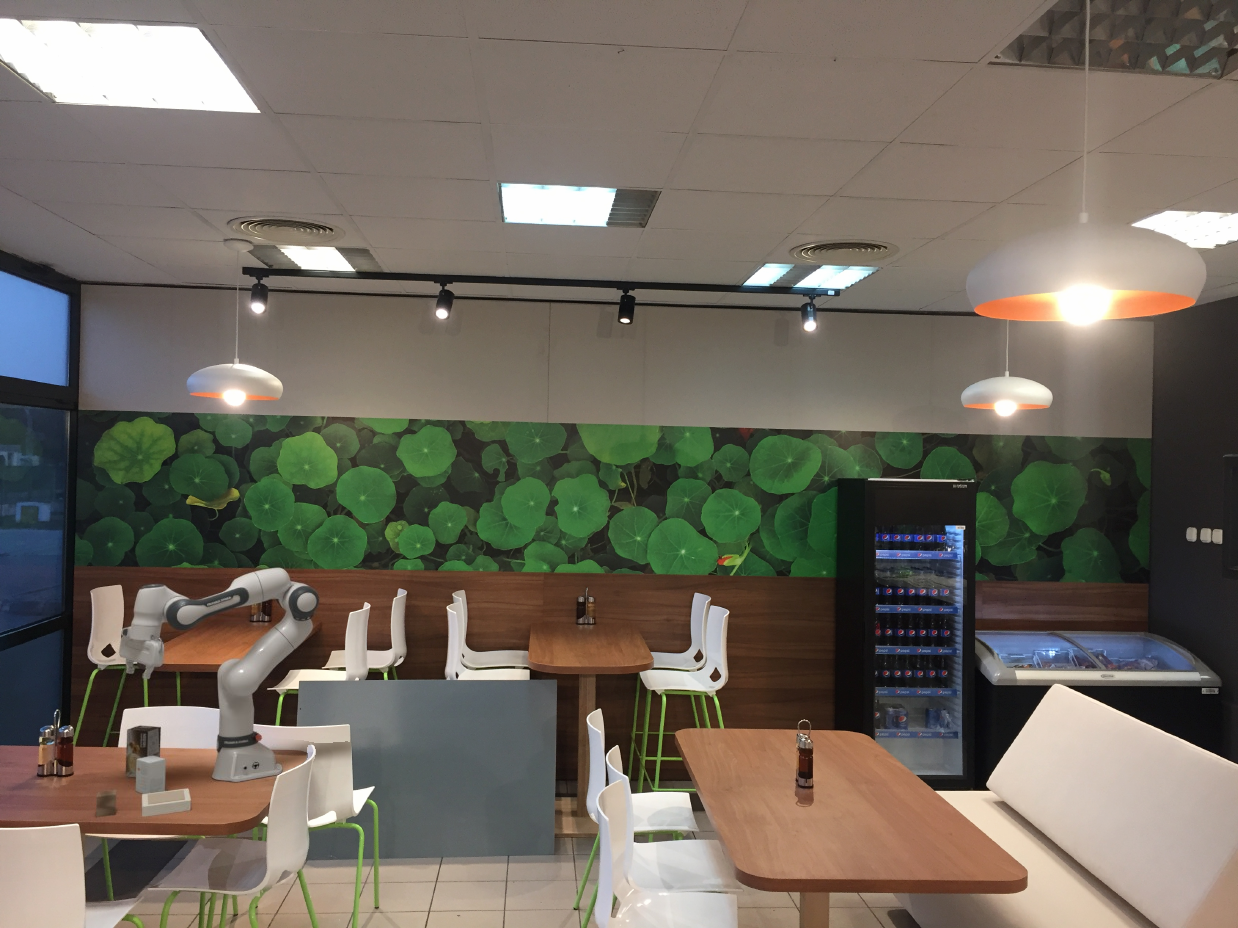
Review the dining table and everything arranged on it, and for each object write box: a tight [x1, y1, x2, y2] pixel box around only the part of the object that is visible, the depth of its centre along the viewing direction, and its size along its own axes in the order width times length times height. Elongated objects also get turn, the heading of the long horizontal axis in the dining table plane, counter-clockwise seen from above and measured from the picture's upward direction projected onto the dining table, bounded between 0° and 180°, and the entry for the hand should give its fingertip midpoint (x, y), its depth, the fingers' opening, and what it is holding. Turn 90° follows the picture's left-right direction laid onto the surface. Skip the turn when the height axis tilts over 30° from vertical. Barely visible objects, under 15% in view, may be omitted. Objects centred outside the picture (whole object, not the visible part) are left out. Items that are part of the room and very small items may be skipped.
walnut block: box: [95, 789, 117, 818], centre depth 263 cm, size 5×5×6 cm
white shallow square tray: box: [141, 788, 192, 818], centre depth 269 cm, size 13×13×3 cm
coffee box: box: [125, 724, 162, 778], centre depth 301 cm, size 9×6×16 cm
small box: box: [135, 756, 167, 795], centre depth 283 cm, size 8×6×10 cm
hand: (137, 675), depth 284 cm, fingers open, 8 cm apart
